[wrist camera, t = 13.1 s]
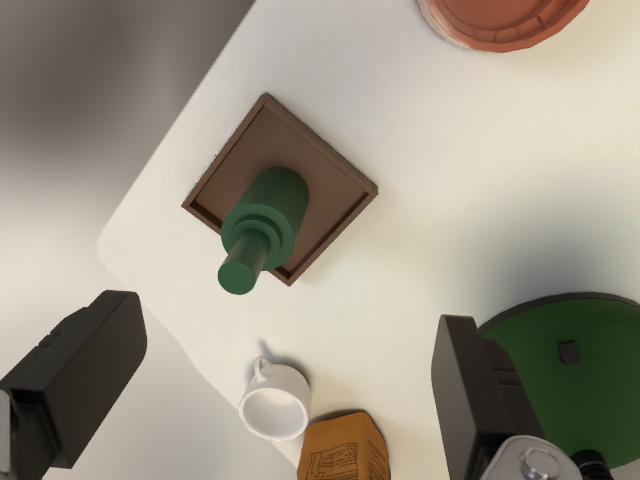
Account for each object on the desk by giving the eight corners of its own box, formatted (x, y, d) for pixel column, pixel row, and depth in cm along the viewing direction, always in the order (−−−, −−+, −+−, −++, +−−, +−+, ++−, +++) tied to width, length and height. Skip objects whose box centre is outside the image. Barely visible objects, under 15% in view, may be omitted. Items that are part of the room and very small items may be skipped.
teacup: (322, 398, 52) (318, 435, 48) (264, 409, 54) (254, 446, 49) (294, 333, 49) (286, 365, 44) (232, 347, 50) (218, 380, 45)
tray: (188, 199, 43) (180, 206, 41) (266, 92, 38) (261, 94, 36) (292, 277, 46) (289, 287, 44) (377, 187, 41) (378, 193, 39)
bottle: (240, 183, 41) (174, 261, 27) (290, 155, 40) (248, 222, 25) (271, 231, 43) (225, 328, 29) (320, 206, 42) (297, 296, 27)
